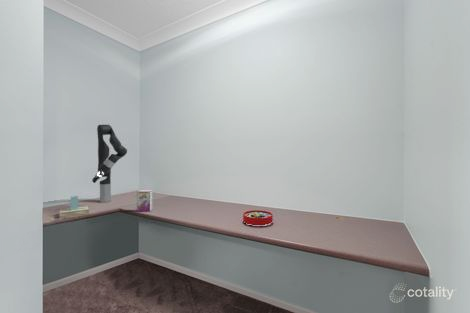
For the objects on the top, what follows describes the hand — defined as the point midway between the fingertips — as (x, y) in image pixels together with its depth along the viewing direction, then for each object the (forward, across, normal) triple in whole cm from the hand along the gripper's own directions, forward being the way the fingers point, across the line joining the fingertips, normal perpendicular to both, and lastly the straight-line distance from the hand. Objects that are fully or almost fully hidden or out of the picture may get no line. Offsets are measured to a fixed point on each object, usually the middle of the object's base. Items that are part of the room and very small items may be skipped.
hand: (93, 181), depth 186 cm
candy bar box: (-4, +22, +42) cm, 48 cm away
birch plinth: (+27, +4, +5) cm, 28 cm away
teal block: (+24, +4, +3) cm, 24 cm away
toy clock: (-42, +96, +86) cm, 136 cm away
